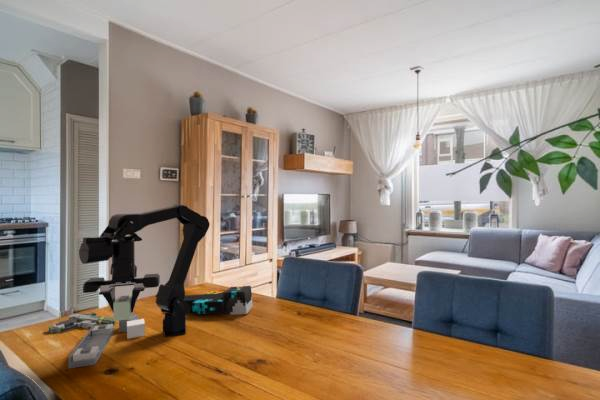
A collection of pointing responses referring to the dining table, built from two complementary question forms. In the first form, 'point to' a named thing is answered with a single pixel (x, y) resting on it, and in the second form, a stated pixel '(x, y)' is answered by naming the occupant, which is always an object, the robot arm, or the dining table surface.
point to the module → (122, 308)
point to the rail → (91, 346)
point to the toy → (222, 301)
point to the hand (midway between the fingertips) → (123, 312)
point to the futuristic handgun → (80, 322)
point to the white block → (124, 323)
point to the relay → (135, 328)
